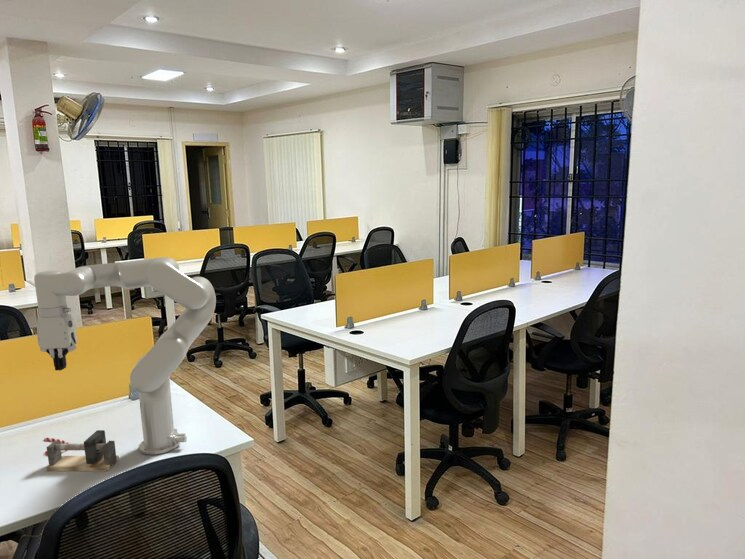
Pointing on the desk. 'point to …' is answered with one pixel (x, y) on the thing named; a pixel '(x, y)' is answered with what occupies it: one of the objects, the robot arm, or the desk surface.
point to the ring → (94, 446)
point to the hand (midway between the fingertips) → (60, 368)
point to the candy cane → (56, 440)
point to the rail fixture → (80, 457)
